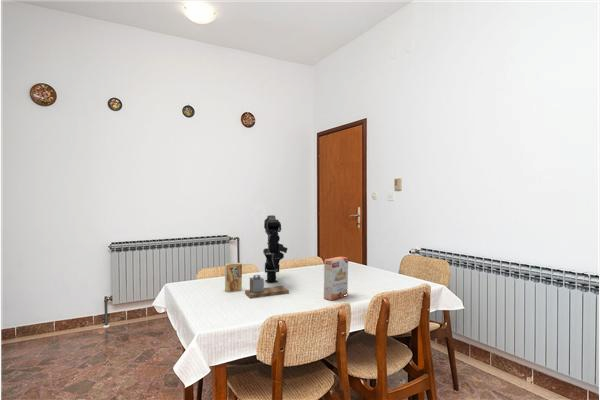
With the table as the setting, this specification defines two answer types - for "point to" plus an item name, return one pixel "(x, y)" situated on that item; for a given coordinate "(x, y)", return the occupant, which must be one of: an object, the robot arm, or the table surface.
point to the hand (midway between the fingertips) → (273, 267)
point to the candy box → (233, 277)
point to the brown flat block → (268, 292)
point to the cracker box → (335, 277)
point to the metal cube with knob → (256, 284)
